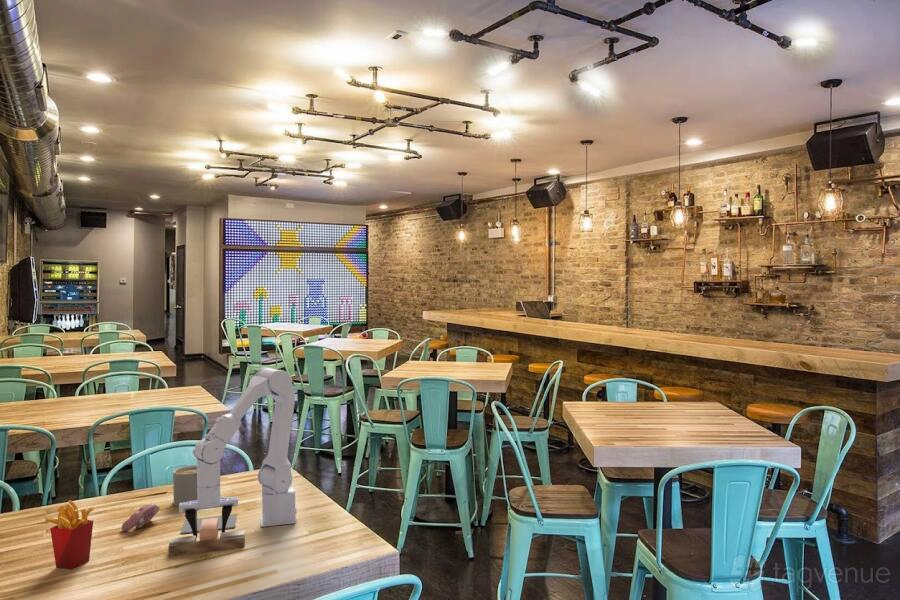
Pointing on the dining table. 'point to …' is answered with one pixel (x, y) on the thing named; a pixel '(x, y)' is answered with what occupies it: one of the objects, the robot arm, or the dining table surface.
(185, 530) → the slate pad
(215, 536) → the salmon pillar
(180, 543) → the brown u-shaped block
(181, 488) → the coffee mug
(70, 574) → the dining table surface
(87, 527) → the french fries
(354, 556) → the dining table surface
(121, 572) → the dining table surface
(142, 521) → the video game controller
